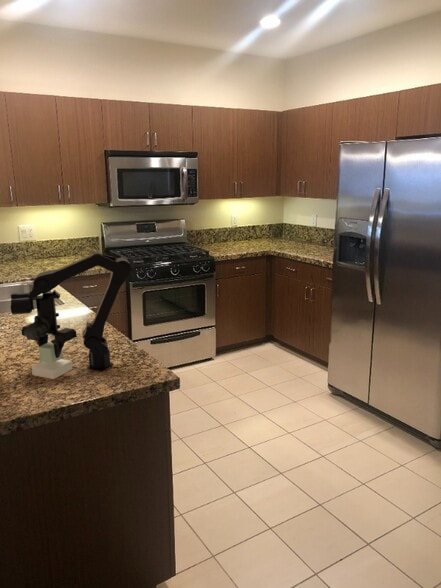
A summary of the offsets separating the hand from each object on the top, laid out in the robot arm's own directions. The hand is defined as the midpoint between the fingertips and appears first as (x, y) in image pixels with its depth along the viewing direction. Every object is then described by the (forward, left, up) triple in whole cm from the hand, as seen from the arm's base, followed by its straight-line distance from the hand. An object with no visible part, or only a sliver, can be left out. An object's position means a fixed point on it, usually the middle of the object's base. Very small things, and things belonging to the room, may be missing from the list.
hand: (51, 356), depth 158 cm
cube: (0, 0, -1) cm, 1 cm away
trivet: (0, 0, -6) cm, 6 cm away
